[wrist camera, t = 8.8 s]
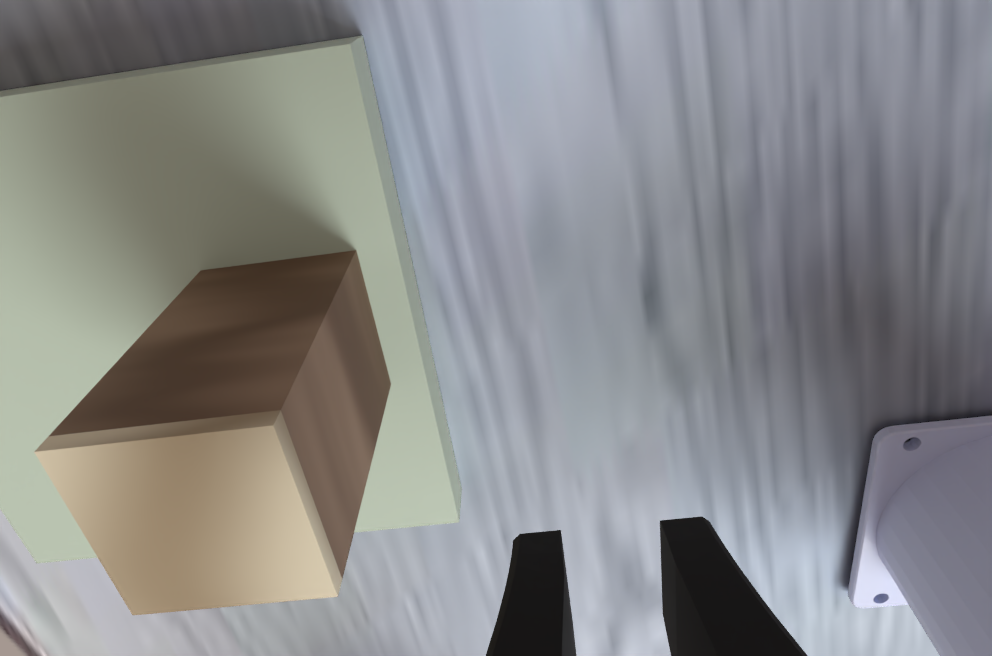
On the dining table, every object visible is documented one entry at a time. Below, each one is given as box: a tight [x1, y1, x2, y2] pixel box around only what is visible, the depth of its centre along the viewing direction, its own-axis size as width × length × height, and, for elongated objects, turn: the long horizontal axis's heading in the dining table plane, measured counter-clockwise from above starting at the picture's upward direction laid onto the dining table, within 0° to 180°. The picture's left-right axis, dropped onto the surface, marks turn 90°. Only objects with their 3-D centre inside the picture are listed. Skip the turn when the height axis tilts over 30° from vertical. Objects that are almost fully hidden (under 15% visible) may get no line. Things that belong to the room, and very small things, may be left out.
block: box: [34, 250, 391, 615], centre depth 15 cm, size 4×4×7 cm
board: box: [0, 35, 462, 563], centre depth 19 cm, size 14×14×2 cm
